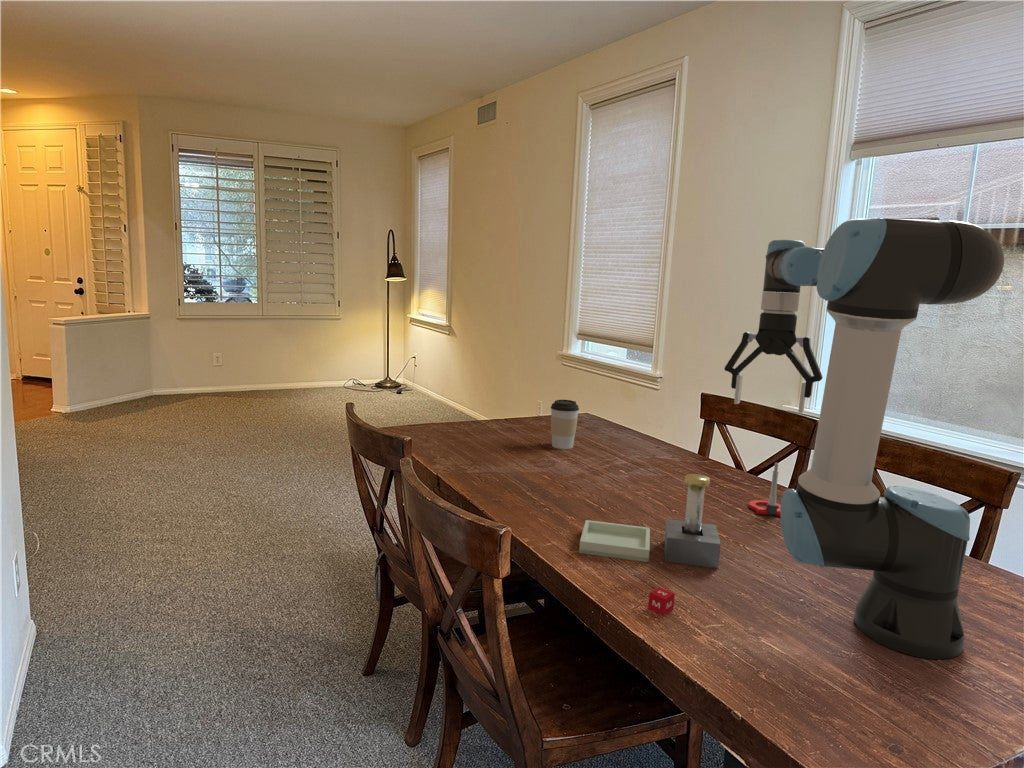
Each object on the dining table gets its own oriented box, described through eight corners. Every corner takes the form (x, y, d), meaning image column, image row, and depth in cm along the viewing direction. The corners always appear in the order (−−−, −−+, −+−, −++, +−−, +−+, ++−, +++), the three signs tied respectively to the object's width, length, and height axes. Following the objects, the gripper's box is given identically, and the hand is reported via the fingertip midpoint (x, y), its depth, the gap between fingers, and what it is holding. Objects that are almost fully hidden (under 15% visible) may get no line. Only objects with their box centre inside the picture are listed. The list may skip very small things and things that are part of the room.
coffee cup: (545, 448, 205) (547, 401, 202) (552, 441, 213) (554, 396, 210) (573, 451, 202) (576, 404, 199) (579, 444, 211) (582, 399, 208)
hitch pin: (703, 561, 128) (711, 482, 125) (678, 557, 129) (685, 480, 126) (701, 551, 133) (709, 475, 130) (677, 548, 134) (684, 472, 131)
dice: (648, 608, 109) (649, 592, 108) (657, 603, 111) (659, 586, 111) (663, 616, 107) (664, 599, 106) (673, 610, 109) (674, 593, 108)
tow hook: (745, 503, 164) (753, 514, 155) (750, 453, 162) (758, 462, 153) (780, 506, 163) (790, 518, 154) (785, 456, 161) (796, 465, 152)
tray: (648, 562, 126) (649, 550, 126) (579, 552, 129) (579, 541, 129) (648, 538, 138) (649, 527, 137) (585, 530, 140) (585, 519, 140)
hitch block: (718, 568, 125) (720, 544, 124) (665, 561, 127) (667, 537, 126) (713, 547, 135) (715, 524, 134) (664, 541, 137) (666, 518, 136)
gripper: (843, 315, 139) (831, 412, 142) (724, 308, 151) (716, 397, 155) (840, 316, 132) (827, 418, 136) (716, 309, 145) (707, 402, 148)
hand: (768, 407), depth 145 cm, fingers open, 13 cm apart
